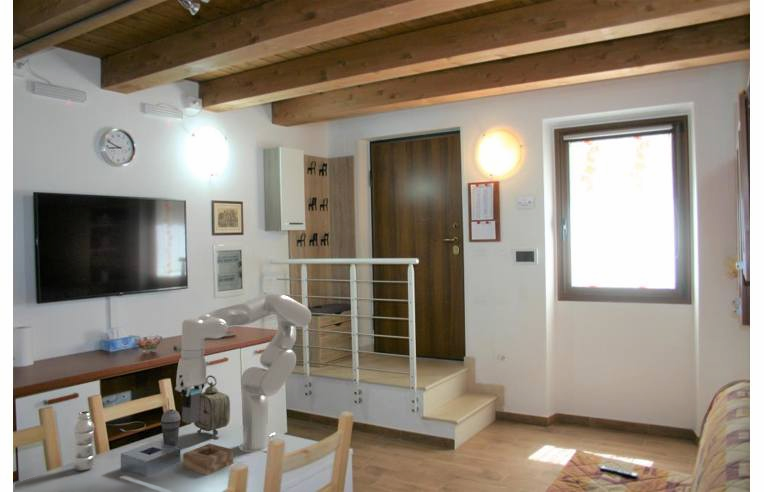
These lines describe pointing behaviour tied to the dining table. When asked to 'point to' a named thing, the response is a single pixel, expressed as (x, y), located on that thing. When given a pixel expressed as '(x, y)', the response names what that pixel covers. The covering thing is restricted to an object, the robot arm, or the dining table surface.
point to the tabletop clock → (213, 410)
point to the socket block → (150, 458)
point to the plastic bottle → (84, 442)
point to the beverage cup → (170, 426)
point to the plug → (192, 407)
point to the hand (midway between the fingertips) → (191, 404)
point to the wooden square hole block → (208, 459)
